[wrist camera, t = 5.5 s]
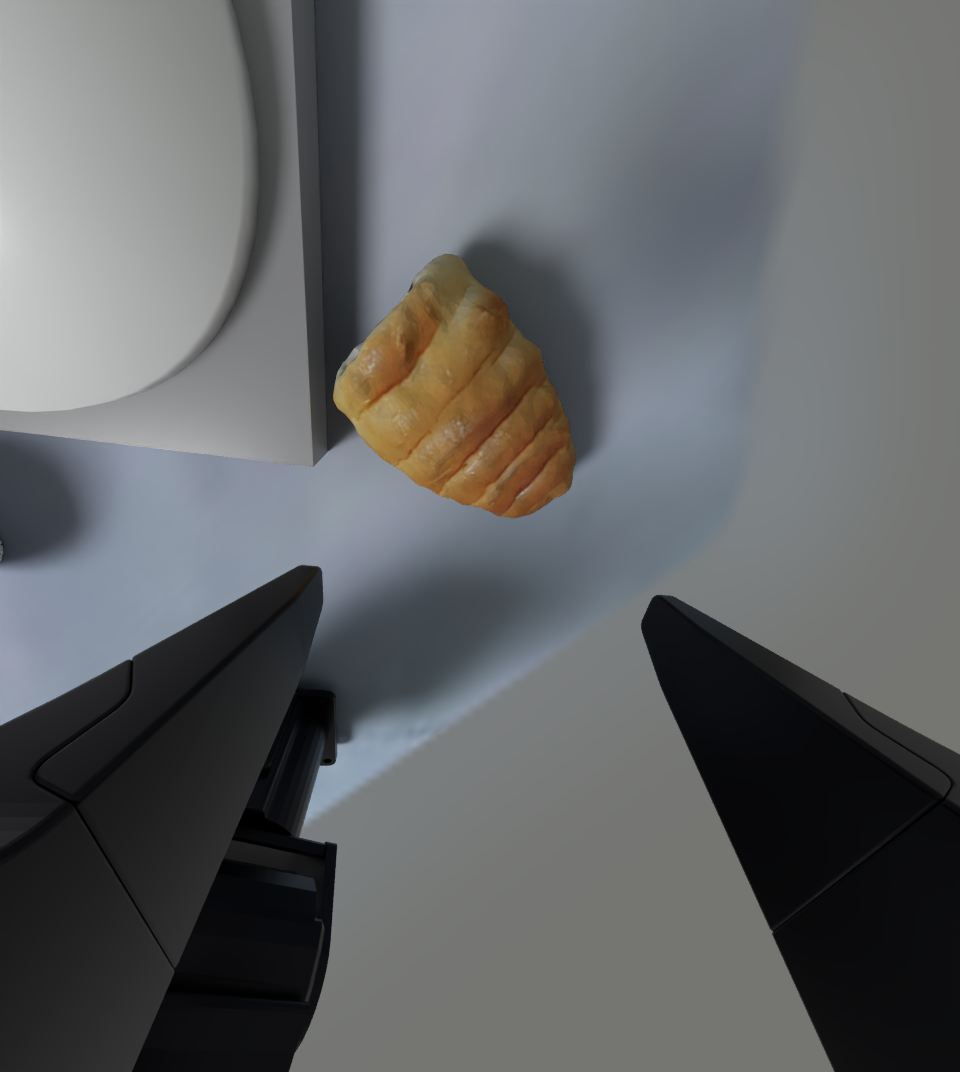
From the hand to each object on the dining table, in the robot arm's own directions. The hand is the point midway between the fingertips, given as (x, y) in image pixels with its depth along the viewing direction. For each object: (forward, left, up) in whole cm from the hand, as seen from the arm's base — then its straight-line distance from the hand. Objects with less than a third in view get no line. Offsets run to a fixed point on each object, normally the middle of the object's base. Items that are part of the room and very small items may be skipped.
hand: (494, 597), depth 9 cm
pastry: (0, +1, -10) cm, 10 cm away
